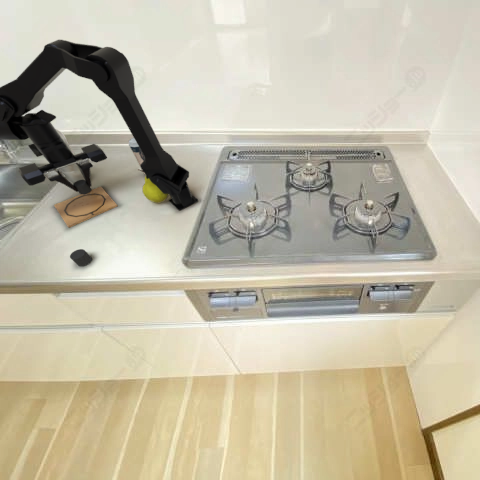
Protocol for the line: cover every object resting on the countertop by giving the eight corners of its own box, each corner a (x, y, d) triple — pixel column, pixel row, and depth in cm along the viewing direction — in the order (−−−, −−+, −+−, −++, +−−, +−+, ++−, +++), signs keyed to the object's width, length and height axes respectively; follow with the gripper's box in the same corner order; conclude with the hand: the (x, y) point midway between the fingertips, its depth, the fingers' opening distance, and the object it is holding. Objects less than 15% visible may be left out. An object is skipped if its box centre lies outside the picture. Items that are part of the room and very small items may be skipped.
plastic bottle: (96, 179, 93) (56, 119, 78) (74, 188, 89) (27, 128, 74) (89, 171, 96) (48, 113, 81) (67, 180, 92) (20, 120, 77)
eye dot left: (94, 261, 70) (87, 253, 68) (80, 268, 68) (72, 261, 66) (89, 254, 71) (82, 247, 69) (75, 261, 70) (67, 254, 67)
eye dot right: (93, 191, 83) (87, 182, 81) (81, 195, 81) (75, 187, 79) (89, 186, 84) (83, 178, 82) (78, 191, 83) (71, 182, 80)
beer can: (155, 176, 94) (139, 144, 86) (141, 176, 94) (124, 143, 86) (161, 168, 98) (146, 136, 89) (147, 168, 98) (131, 136, 89)
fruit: (166, 190, 90) (150, 157, 81) (177, 199, 87) (161, 166, 78) (145, 200, 86) (126, 166, 77) (155, 210, 83) (136, 176, 74)
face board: (117, 206, 84) (116, 204, 83) (69, 227, 77) (67, 226, 77) (101, 187, 90) (100, 185, 89) (55, 206, 83) (53, 204, 83)
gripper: (77, 117, 79) (107, 165, 90) (-7, 140, 69) (38, 190, 81) (91, 130, 74) (121, 179, 85) (3, 157, 64) (50, 208, 76)
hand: (83, 188), depth 82 cm, fingers closed on eye dot right, 3 cm apart
